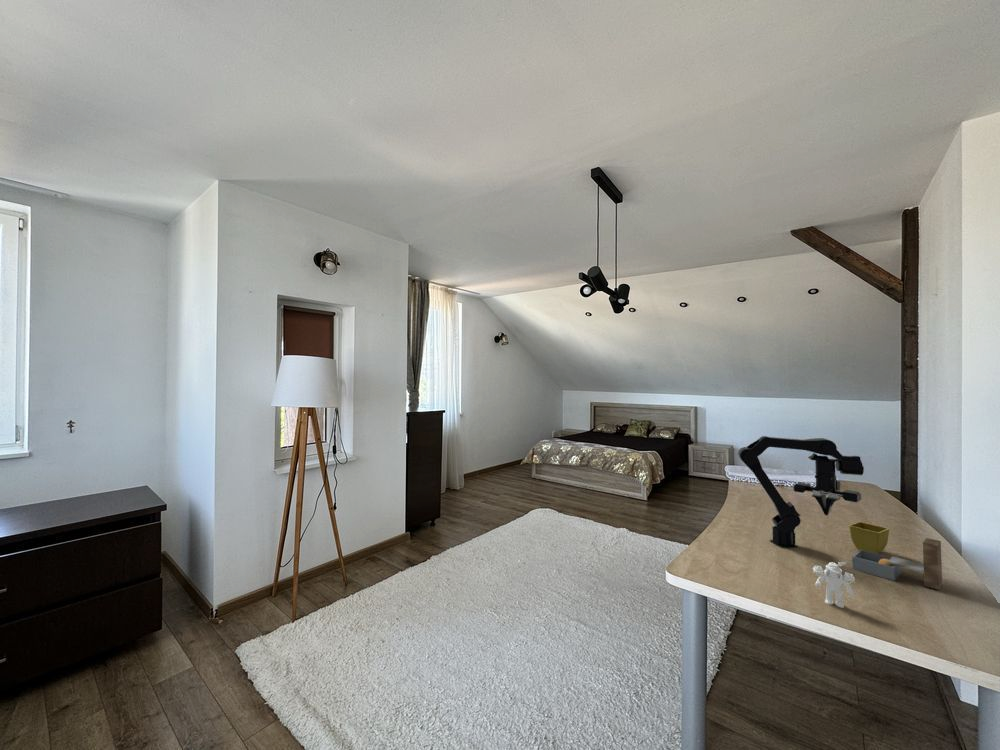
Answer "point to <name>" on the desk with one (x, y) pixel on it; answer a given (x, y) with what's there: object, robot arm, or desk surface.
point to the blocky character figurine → (834, 582)
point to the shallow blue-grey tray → (874, 565)
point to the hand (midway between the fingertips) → (826, 515)
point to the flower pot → (869, 537)
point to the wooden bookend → (926, 563)
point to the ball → (885, 562)
